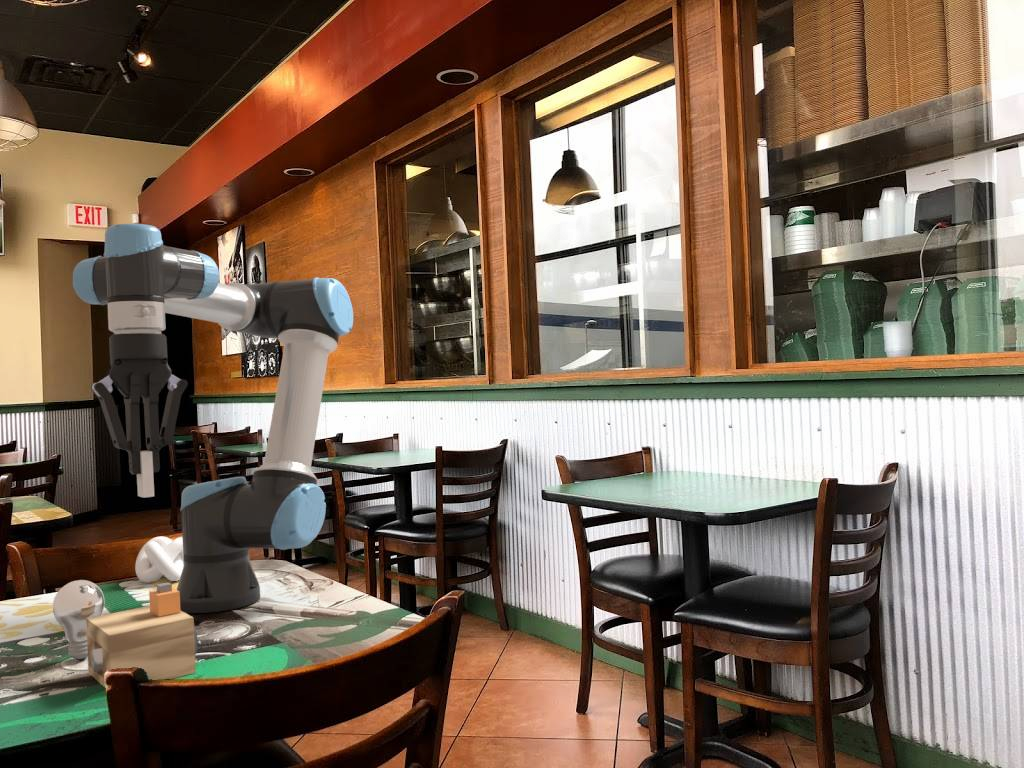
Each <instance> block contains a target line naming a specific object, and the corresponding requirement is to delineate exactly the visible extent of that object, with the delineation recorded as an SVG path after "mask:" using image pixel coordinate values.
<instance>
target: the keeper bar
mask: <svg viewBox="0 0 1024 768" xmlns="http://www.w3.org/2000/svg"><path fill="white" fill-rule="evenodd" d="M148 591H149V592H148V596H149V597H148V599H149V606H150V612H152V613H153V614H155V615H157V616H159V617H160V616H165V615H170V614H174V613H179V612H180V591H178V590H177V588H173V587H172V583H170V582H162V583H158V584H157V583H156V589H154V590H148Z"/></svg>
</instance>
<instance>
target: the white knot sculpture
mask: <svg viewBox="0 0 1024 768" xmlns="http://www.w3.org/2000/svg"><path fill="white" fill-rule="evenodd" d="M183 565H184V557H183V539H182V536H181V537H177V538H175V539H171V538H170V537H167V536H161V535H160V536H156V537H153V538H151V539H150V540H148V541H147V542H145V544H144V545H142V547H141V548H140V551H139V552H138V554H137V557H136V561H135V565H134V567H135V573H136V574H135V575H136V576H137V578H138V580H139V581H141V583H145V584H151V582H152V583H154V582H157V581H158V580H160V579H161V578H162V577H165V578H166V579H167V580H169V581H171V582H172V581H177V580H180V577H181V573H182V570H183ZM163 575H164V576H163Z"/></svg>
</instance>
